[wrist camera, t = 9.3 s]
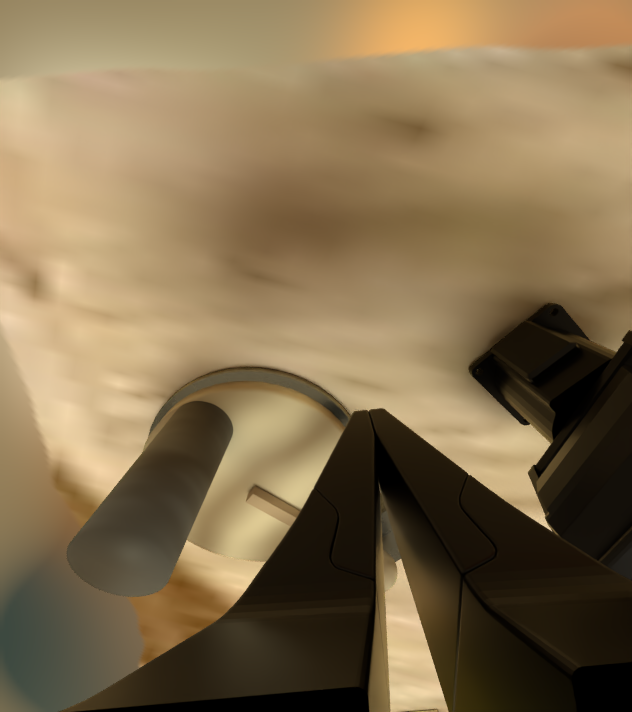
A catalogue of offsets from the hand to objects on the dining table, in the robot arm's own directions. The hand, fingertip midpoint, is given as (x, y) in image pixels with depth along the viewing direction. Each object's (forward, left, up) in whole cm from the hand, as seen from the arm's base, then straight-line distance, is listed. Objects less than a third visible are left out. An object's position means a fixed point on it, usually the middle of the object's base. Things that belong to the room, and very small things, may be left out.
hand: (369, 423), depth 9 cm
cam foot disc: (-6, +13, -11) cm, 18 cm away
